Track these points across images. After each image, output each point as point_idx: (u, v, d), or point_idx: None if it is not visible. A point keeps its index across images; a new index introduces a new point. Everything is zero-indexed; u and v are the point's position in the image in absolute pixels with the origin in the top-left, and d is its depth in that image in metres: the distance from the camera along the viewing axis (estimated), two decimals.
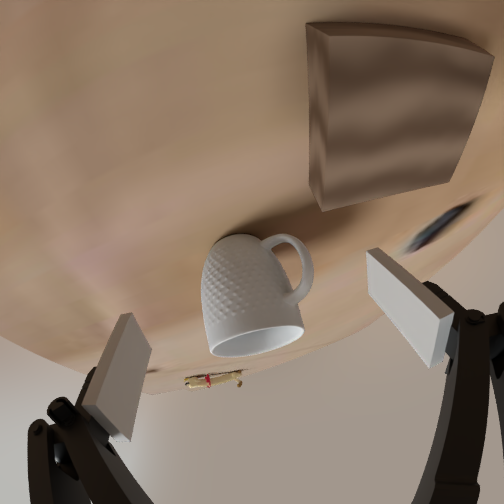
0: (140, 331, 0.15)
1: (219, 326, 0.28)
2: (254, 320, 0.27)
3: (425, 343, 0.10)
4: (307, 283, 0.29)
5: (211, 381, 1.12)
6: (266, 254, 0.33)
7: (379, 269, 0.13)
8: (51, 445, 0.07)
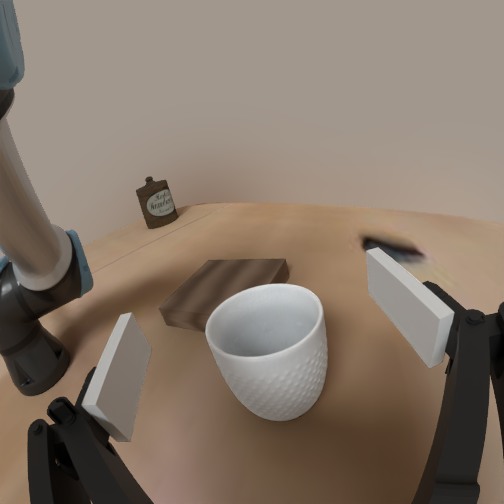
0: (140, 331, 0.15)
1: None
2: None
3: (425, 343, 0.10)
4: None
5: None
6: None
7: (379, 269, 0.13)
8: (51, 445, 0.07)
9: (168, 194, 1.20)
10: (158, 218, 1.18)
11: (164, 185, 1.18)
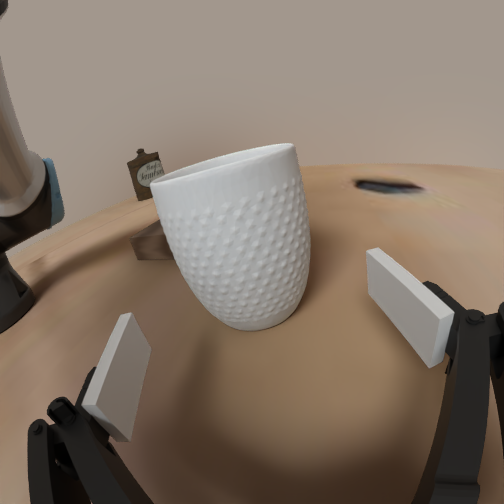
0: (140, 331, 0.15)
1: None
2: None
3: (425, 343, 0.10)
4: None
5: None
6: None
7: (379, 269, 0.13)
8: (51, 445, 0.07)
9: (159, 165, 1.15)
10: (148, 189, 1.13)
11: (155, 156, 1.12)
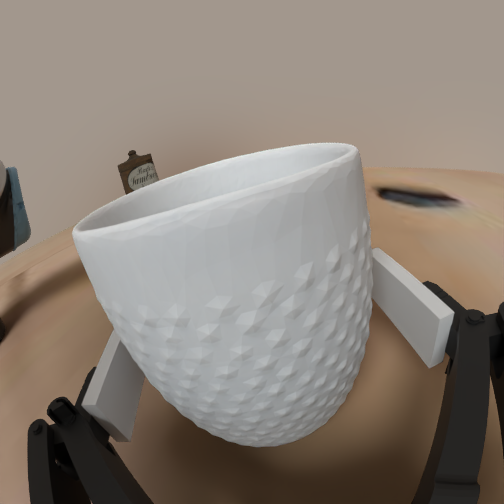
0: None
1: None
2: None
3: (425, 343, 0.10)
4: None
5: None
6: None
7: (379, 269, 0.13)
8: (51, 445, 0.07)
9: (152, 168, 1.05)
10: None
11: (148, 158, 1.03)
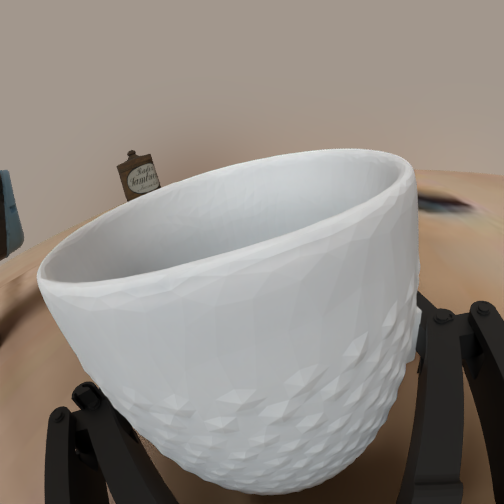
0: None
1: None
2: None
3: None
4: None
5: None
6: None
7: None
8: (72, 434, 0.07)
9: (152, 169, 1.03)
10: (139, 195, 1.01)
11: (147, 159, 1.00)
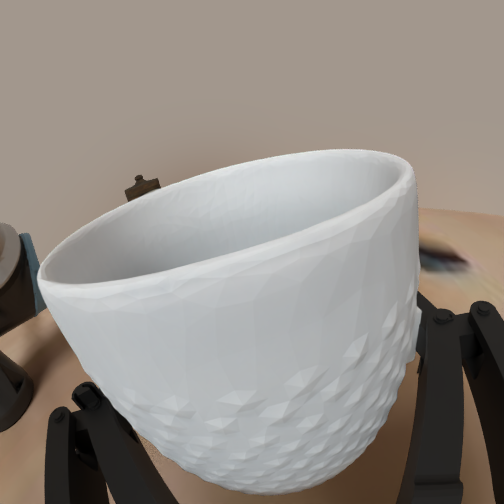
0: None
1: None
2: None
3: None
4: None
5: None
6: None
7: None
8: (72, 434, 0.07)
9: None
10: None
11: (155, 184, 1.05)
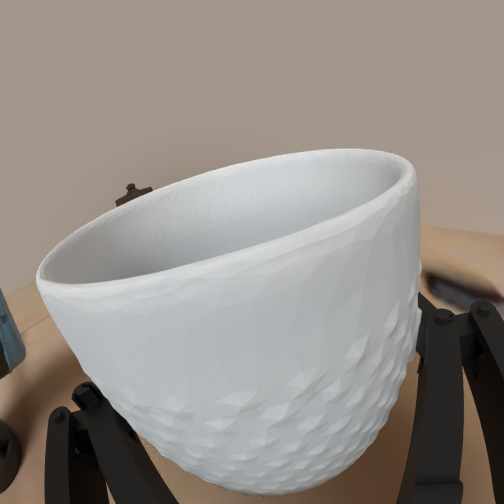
0: None
1: None
2: None
3: None
4: None
5: None
6: None
7: None
8: (72, 434, 0.07)
9: None
10: None
11: None
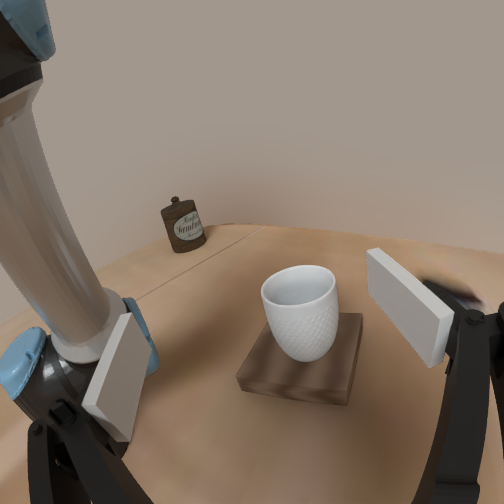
0: (140, 331, 0.15)
1: None
2: None
3: (425, 343, 0.10)
4: None
5: None
6: None
7: (379, 269, 0.13)
8: (51, 445, 0.07)
9: (196, 216, 1.15)
10: (186, 242, 1.13)
11: (192, 207, 1.12)
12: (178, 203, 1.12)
